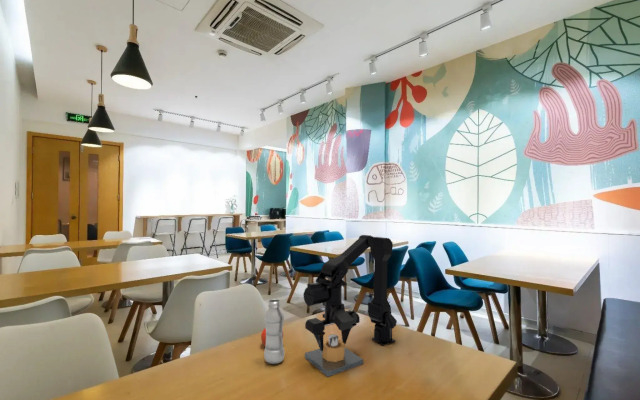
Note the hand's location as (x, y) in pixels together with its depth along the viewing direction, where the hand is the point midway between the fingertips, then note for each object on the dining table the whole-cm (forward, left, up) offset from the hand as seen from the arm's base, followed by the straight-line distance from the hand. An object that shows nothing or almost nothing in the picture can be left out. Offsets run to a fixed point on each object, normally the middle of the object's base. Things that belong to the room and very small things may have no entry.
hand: (333, 347), depth 99 cm
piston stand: (0, 0, -4) cm, 4 cm away
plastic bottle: (+17, -10, -5) cm, 20 cm away
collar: (0, 0, -3) cm, 3 cm away
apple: (+13, -21, -5) cm, 25 cm away
